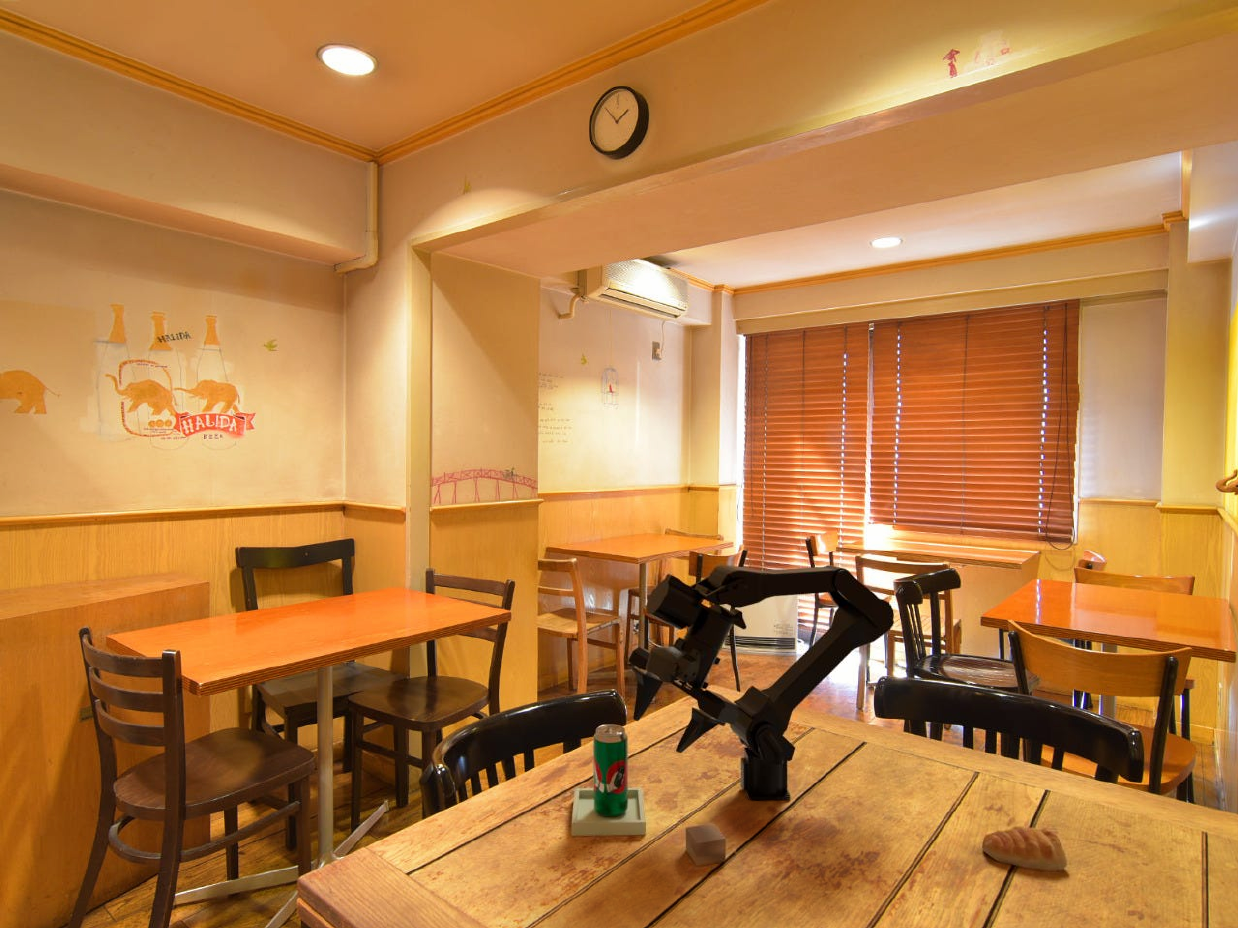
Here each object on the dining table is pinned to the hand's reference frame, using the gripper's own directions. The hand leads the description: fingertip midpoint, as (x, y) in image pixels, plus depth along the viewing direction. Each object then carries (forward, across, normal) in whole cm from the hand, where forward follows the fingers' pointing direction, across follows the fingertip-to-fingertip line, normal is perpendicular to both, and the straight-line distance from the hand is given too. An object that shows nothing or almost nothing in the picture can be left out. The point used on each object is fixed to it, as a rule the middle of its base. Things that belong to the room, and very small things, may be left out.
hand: (656, 735), depth 107 cm
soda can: (+12, 0, -2) cm, 13 cm away
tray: (+13, 0, -2) cm, 13 cm away
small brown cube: (+8, +16, -1) cm, 18 cm away
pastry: (-11, +45, +23) cm, 51 cm away
